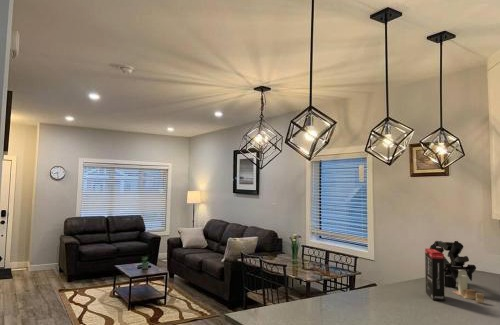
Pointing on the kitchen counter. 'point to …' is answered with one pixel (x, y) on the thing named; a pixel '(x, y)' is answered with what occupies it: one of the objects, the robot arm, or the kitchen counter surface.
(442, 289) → the graphics card box
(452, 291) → the tile
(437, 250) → the robot arm
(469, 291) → the rack
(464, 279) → the pale green block
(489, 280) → the kitchen counter surface
